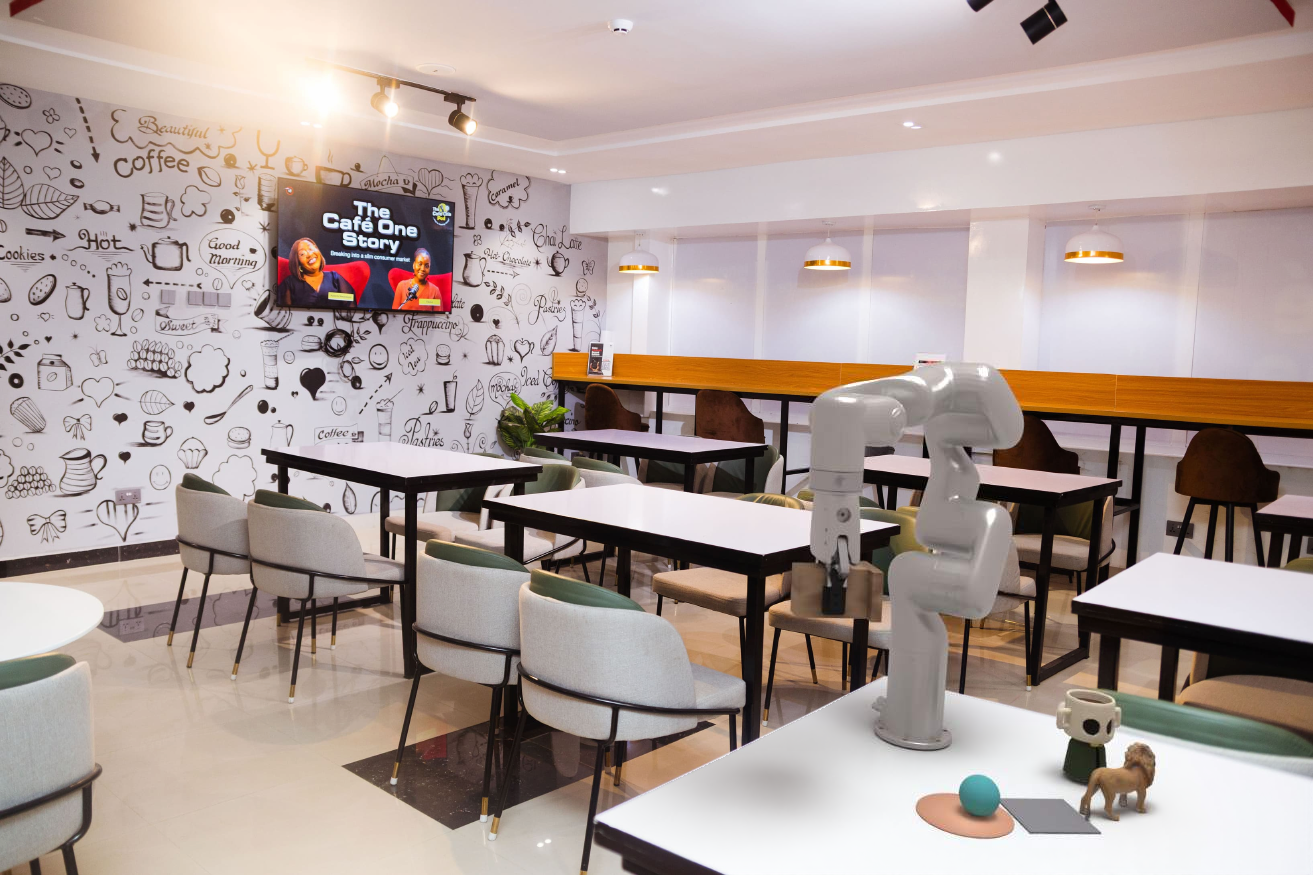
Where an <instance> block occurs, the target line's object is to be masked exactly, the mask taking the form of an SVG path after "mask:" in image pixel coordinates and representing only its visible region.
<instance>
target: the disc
mask: <svg viewBox="0 0 1313 875" xmlns="http://www.w3.org/2000/svg"><path fill="white" fill-rule="evenodd" d="M915 807H916V808H915V810H916V812H917V814H918V815H919V816H920V818H922V819H923V820H924V821H925V822H926V823H928V824H929V825H931V826H933V827H935V828H936V829H938V830H939V829H940V830H942V831H944V832H947V833H950V834H954V835H958V836H960V837H961V836H962V837H965V838H974V839H995V838H1001V837H1004V836H1006V835H1007V836H1008V835H1009V834H1010V833H1011V832H1012V831H1013V830H1014V829H1015V821H1014V817H1013V816H1012V814H1011V813H1010V812H1009V811H1007V810H1005V809H1004V808H1002V807H1000V806H999V807H998V809H997V810H996V811H995V812H994V813H993V814H991V815H989V816H985V817H979V816H975V815H973V814H971V813H969V812H968V811H967V810H966V809H965V808H964V807H963V805H962V804H961V802H960V799H959V793H953V792H938V793H931V794H927V795H925V796H923V797H920V798H919V799H918V800H917V801H916V806H915Z"/></svg>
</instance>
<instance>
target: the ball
mask: <svg viewBox="0 0 1313 875" xmlns="http://www.w3.org/2000/svg"><path fill="white" fill-rule="evenodd" d="M958 794H959V799H960V802H961V804H962V805H963V807H964V808H965V809H966V810H967V811H968V812H969V813H971V814H973V815H975V816H979V817H985V816H989V815H991V814H993V813H994V812H995V811H996V810H997V809H998V807H1000V804H1001V803H1000V798H1001V792H1000V789H999V788H998V786H997V784H996V783H995V781H994V780H992V778H990V777H988V776H986V775H983V774H972V775H971V774H970V775H969V776H966V778H964V779H963V780H962V782H961V783H960V784H959V788H958Z"/></svg>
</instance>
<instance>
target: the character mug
mask: <svg viewBox="0 0 1313 875" xmlns="http://www.w3.org/2000/svg"><path fill="white" fill-rule="evenodd" d="M1116 705H1117V704H1116V699H1115V698H1114V697H1112V696H1111V695H1109V694H1105V693H1103V692H1100V691H1096V690H1091V689H1090V690H1089V689H1083V688H1082V689H1079V688H1075V689H1068V690H1067V691H1065V700H1064V707H1059V708H1058V709H1057V711H1056V721H1055V724H1056V725H1055V726H1056V728H1057V729H1058V730H1063V731H1064V733H1065V734H1066V735H1067V736H1069V737H1070V738H1069V740H1068V744H1067V748H1066V753H1065V757H1064V761H1063V767H1062V771H1064V773H1065V774H1066V775H1067V776H1069V777H1070V778H1071V779H1073V780H1076V781H1079V782H1081V783H1087V784H1089V781H1090V777H1091V774H1092V772H1093V771H1094V770H1096V769H1098V768H1102V767H1106V768H1108V765H1107V753H1106V747H1105V744H1108V743H1110V742H1111V741H1112V740H1113V739H1114V737H1115V732H1116V729H1117V728H1120V727H1121V723H1122V722H1121V721H1122V708H1121V707H1119V706H1116Z"/></svg>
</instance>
